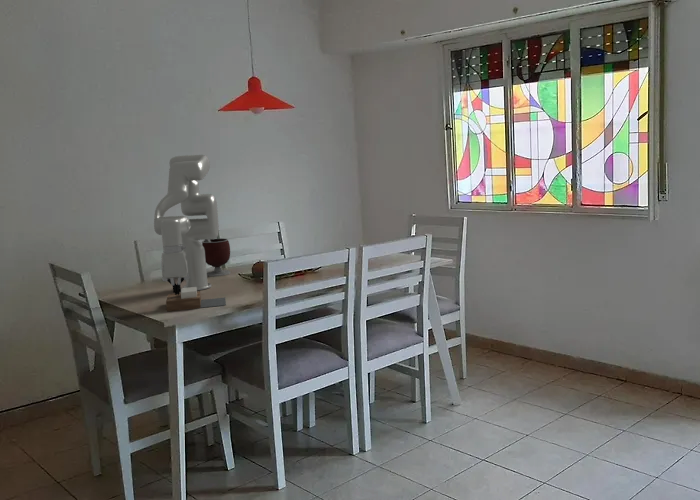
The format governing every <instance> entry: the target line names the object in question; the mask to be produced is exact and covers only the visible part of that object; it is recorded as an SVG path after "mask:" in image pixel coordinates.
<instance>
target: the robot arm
mask: <svg viewBox="0 0 700 500" xmlns="http://www.w3.org/2000/svg"><path fill="white" fill-rule="evenodd" d="M210 163H211V161H210V160H209V157H208V156H207V155H206V154H191V155H188V154H186V155H177V156H174V157H173V156H172V157H171V158H170V159H169V171H168V182H167V183H168V184H167V194H165V195H164V197H162V199H160V201H159V202H158V204H157V206H156V208H155V210H154V218H153V229H154V232H155V234H157V235H158V236H159V235H160V236H161V239H162V250H163V252H162V253H161V275H162V278H161V280H162V281H163V282H168V283H169V284H170V285H171V286H172V294H175V295H179V293H181V289H182V288H189V287H197V291H201V290H202V291H203V290H207V289H210V288H212V283H210V282H208V281H209V280H208V276H207V273H208V271H207V263H206V259H205V250H204V247H203V246H202V243H201V242H200V241H204V240H205V239H218V236H219V234H220V233H219V232H220V229H219V226H220V225H219V213H218V212H219V211H218V202H217V199H216V197H215V195H213V194H211V193H210V194H209V193H202V194H201V193H200V186H199V182H198V181H202V180H203V179H205V177H206V176H207V174H208V173H209V170H210V168H211V167H210V165H211V164H210ZM179 204H180V210H181V213H182V214H183V215H178V216H177V215H175V216H174V215H173V216H172V215H171V216H165V214H166V212H167V211H168V210H169V209H171V208H173V207H175V206H176V205H179ZM198 216H206V218H205V217H204V218H188V217H198ZM176 278H177V282H176V281H175V279H176ZM184 281H185V283H186V284H185V285H183V286H182V287H181V284H182V283H183V282H184Z"/></svg>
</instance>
